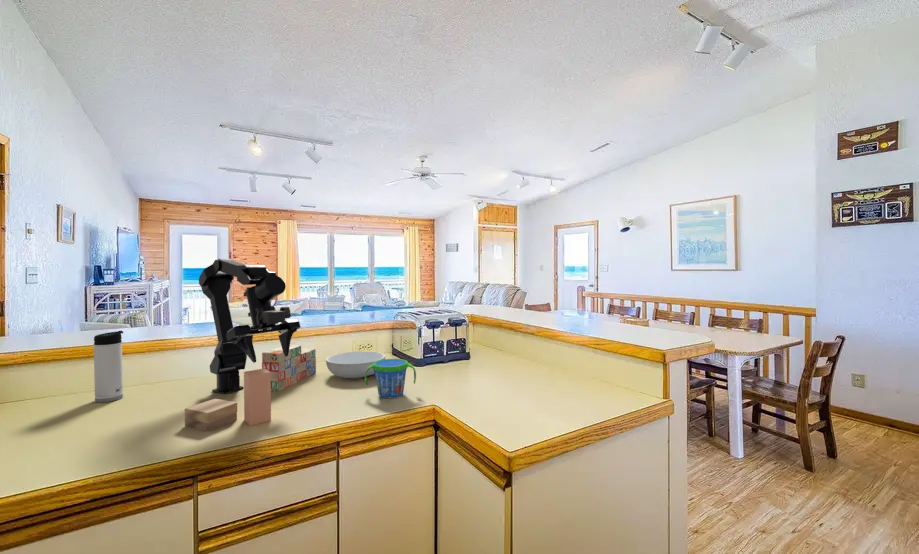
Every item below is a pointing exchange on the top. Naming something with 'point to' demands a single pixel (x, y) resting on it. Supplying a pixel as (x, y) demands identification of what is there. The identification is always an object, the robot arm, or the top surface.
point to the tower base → (211, 425)
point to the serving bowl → (353, 363)
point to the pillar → (257, 396)
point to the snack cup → (390, 376)
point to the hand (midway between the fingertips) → (271, 359)
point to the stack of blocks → (289, 365)
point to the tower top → (210, 410)
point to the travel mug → (108, 367)
